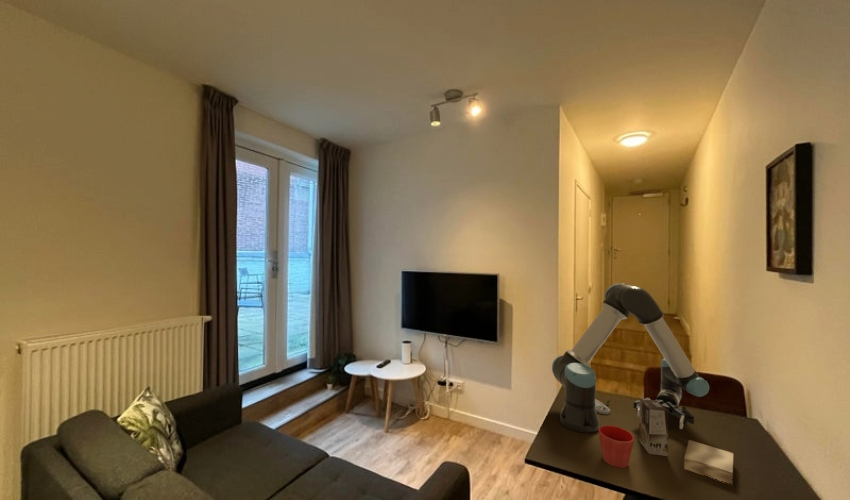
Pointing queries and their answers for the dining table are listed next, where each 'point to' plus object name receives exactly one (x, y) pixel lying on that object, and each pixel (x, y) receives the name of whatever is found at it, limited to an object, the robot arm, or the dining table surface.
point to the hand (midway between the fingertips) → (659, 419)
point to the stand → (709, 461)
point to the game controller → (601, 407)
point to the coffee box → (653, 427)
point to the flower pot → (616, 445)
